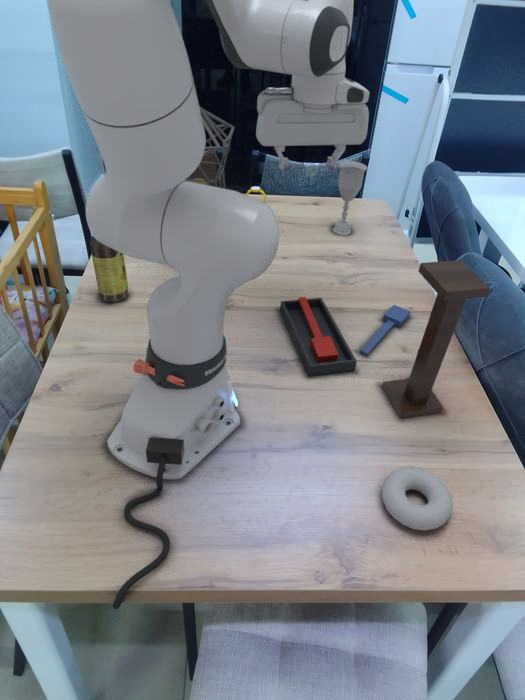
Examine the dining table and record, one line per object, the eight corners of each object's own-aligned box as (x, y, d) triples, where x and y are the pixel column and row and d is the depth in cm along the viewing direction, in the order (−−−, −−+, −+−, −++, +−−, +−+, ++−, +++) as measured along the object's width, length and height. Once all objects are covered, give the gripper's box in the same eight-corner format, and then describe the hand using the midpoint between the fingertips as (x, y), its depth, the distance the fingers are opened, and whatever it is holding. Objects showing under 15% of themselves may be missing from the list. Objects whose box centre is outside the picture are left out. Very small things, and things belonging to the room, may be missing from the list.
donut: (457, 535, 71) (436, 475, 78) (465, 522, 68) (443, 461, 76) (387, 535, 70) (373, 474, 78) (393, 522, 68) (378, 461, 75)
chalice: (326, 233, 139) (336, 168, 127) (331, 223, 144) (341, 159, 132) (352, 238, 137) (365, 172, 126) (356, 227, 142) (369, 164, 131)
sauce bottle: (133, 298, 110) (122, 212, 97) (105, 306, 107) (90, 219, 94) (122, 284, 114) (110, 200, 101) (95, 291, 111) (79, 206, 98)
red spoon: (336, 360, 97) (338, 354, 96) (317, 362, 96) (318, 356, 95) (310, 299, 109) (311, 293, 108) (292, 300, 108) (293, 294, 107)
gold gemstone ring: (265, 206, 150) (267, 187, 146) (265, 210, 147) (266, 190, 144) (245, 204, 150) (246, 185, 146) (244, 208, 148) (245, 189, 144)
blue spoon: (392, 310, 112) (393, 304, 111) (408, 317, 110) (410, 311, 109) (354, 350, 100) (355, 344, 99) (372, 358, 99) (373, 352, 98)
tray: (354, 370, 96) (356, 361, 94) (308, 376, 94) (310, 366, 92) (319, 306, 111) (321, 297, 110) (279, 310, 109) (280, 301, 108)
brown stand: (381, 386, 93) (417, 263, 76) (420, 381, 95) (464, 259, 78) (400, 418, 87) (443, 292, 70) (441, 412, 89) (493, 287, 72)
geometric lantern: (225, 277, 118) (227, 120, 96) (159, 271, 119) (145, 112, 96) (234, 245, 130) (238, 99, 108) (174, 239, 131) (165, 92, 108)
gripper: (262, 92, 82) (257, 176, 91) (378, 92, 86) (363, 172, 95) (253, 82, 87) (250, 163, 96) (364, 83, 91) (351, 160, 100)
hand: (307, 168), depth 95 cm, fingers open, 8 cm apart
